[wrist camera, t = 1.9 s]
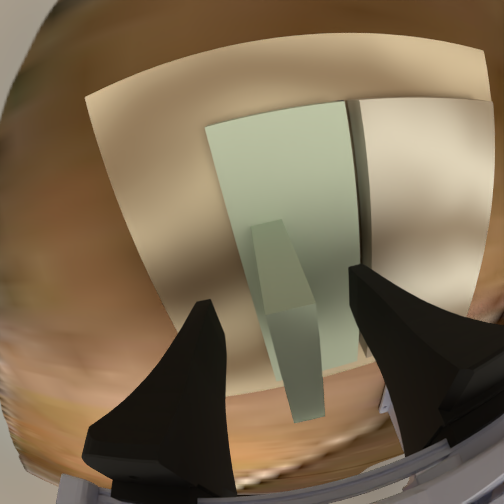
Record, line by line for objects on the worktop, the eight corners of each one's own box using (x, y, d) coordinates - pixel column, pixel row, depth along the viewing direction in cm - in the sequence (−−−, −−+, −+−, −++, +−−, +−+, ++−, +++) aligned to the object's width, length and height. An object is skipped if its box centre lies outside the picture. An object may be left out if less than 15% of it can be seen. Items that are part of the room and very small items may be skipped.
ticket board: (452, 315, 19) (470, 339, 17) (216, 381, 20) (216, 414, 17) (466, 51, 9) (501, 51, 7) (99, 97, 10) (67, 98, 8)
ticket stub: (351, 346, 17) (384, 429, 11) (273, 366, 17) (288, 455, 11) (333, 101, 10) (430, 108, 4) (207, 125, 10) (179, 147, 5)
